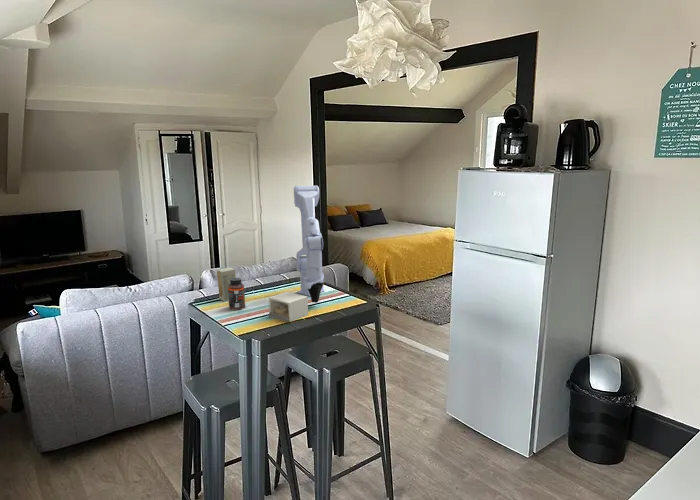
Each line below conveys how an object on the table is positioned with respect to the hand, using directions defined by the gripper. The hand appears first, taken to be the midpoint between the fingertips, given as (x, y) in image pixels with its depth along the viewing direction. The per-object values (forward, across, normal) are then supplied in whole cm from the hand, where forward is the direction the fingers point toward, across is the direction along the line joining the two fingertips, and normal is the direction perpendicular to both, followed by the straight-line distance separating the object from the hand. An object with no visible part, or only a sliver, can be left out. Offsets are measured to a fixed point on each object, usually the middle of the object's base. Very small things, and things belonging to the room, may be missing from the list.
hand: (315, 301), depth 183 cm
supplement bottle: (+2, +11, -27) cm, 29 cm away
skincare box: (+2, +2, -37) cm, 37 cm away
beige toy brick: (+2, +12, -6) cm, 13 cm away
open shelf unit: (+1, +13, -5) cm, 14 cm away
